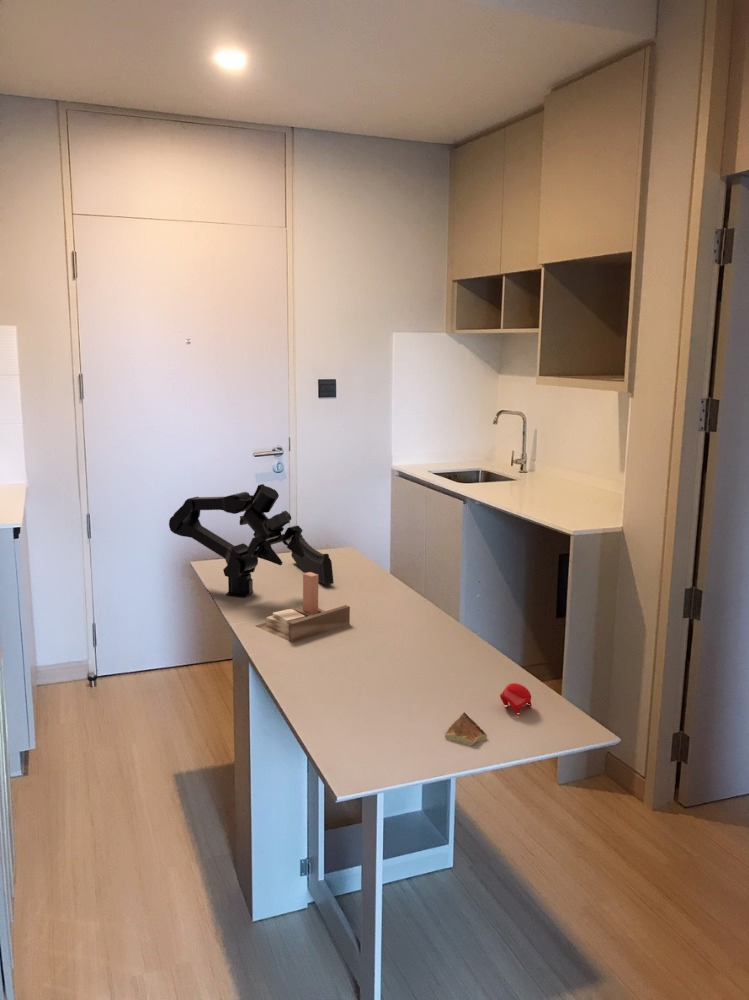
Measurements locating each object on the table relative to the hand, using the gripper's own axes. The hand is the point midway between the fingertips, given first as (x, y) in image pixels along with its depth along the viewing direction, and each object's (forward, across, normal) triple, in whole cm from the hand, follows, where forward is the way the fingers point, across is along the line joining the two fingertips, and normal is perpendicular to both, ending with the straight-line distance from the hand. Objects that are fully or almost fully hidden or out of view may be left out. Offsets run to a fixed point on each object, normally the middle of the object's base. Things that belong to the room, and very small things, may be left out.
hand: (292, 560), depth 231 cm
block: (+17, -6, +4) cm, 19 cm away
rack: (+19, -11, +4) cm, 22 cm away
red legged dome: (+75, -16, -34) cm, 84 cm away
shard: (+72, -33, -32) cm, 85 cm away
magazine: (-6, +28, +23) cm, 37 cm away
